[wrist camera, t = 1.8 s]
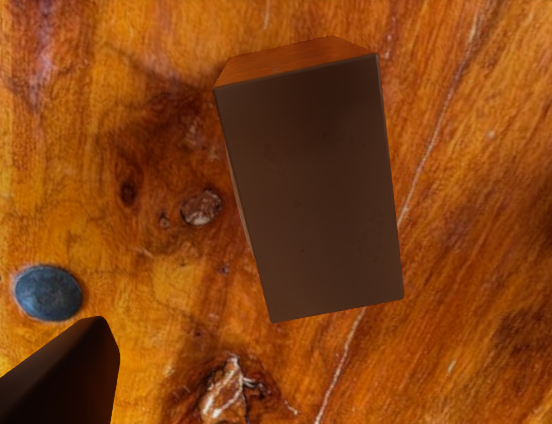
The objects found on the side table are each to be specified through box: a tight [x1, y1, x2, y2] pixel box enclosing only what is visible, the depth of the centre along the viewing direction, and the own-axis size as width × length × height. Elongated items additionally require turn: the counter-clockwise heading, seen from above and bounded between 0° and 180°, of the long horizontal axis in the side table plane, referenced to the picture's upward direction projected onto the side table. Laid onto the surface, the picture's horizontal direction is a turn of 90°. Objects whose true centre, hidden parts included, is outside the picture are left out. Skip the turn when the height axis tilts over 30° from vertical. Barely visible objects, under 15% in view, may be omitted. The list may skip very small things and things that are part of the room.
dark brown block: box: [212, 35, 404, 323], centre depth 16 cm, size 4×7×7 cm, turn 11°
